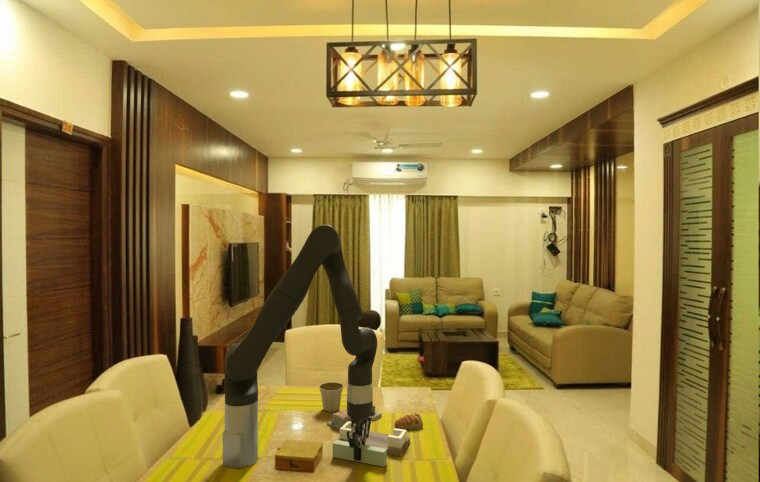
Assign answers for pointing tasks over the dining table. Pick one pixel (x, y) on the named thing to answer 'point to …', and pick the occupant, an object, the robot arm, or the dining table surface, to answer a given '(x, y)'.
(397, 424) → the pastry
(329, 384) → the flower pot
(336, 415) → the packaged product
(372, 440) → the board
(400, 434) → the cap near
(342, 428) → the cap far
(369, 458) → the slat
